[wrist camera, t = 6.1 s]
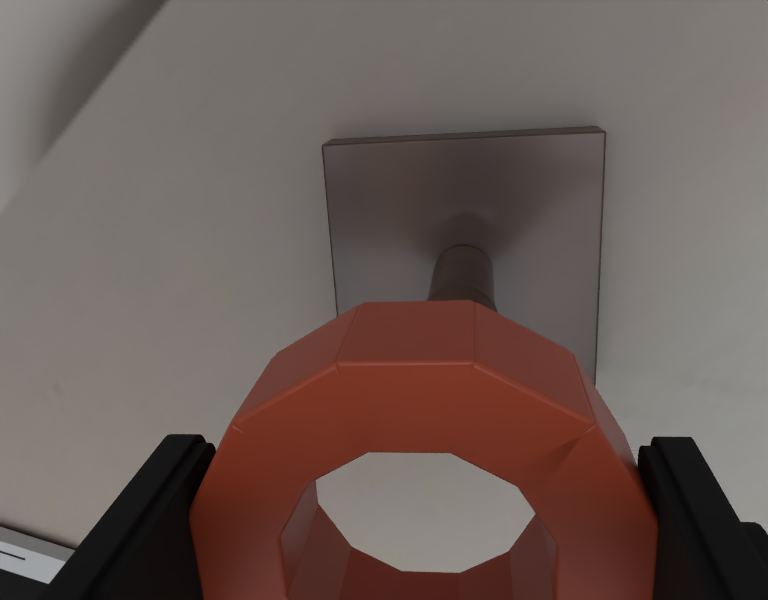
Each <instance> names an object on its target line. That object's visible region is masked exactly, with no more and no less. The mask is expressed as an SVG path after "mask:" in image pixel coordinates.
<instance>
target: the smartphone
mask: <svg viewBox="0 0 768 600" xmlns="http://www.w3.org/2000/svg"><path fill="white" fill-rule="evenodd" d="M74 551H75V550H72V549H69V548H66V547H63V546H60V545H56V544H53V543H50V542H47V541H44V540H41V539H38V538H34V537H31V536H28V535H25V534H22V533H19V532H15V531H12V530H9V529H6V528H3V527H0V600H36V599H37V598H38V597H39V596H40V594H41V593H42V592H43V591H44V589H45V588H46V587H47V586H48V584H49V583H50V582H51V580H52V579H53V578H54V577H55V575H56V574H57V573H58V572H59V570H60V569H61V568H62V567H63V565H64V564H65V563H66V562H67V560H68V559H69V558H70V557H71V555H72V554H73V553H74Z"/></svg>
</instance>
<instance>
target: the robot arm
mask: <svg viewBox="0 0 768 600" xmlns="http://www.w3.org/2000/svg"><path fill="white" fill-rule="evenodd" d="M215 453H216V450H215V447H214V445H213V444H212V443H206V441H205V439H204V437H203V436H202V435H200V434H170V435H167V436H166V437H165V438H164V439H163V441H162V442H161V443H160V444H159V446H158V447H157V448H156V449H155V451H154V452H153V453H152V454H151V456H150V457H149V458H148V459H147V461H146V462H145V463H144V464H143V466H142V467H141V468H140V470H139V471H138V472H137V473H136V475H135V476H134V477H133V478H132V480H131V481H130V482H129V483H128V485H127V486H126V487H125V488H124V490H123V491H122V492H121V493H120V495H119V496H118V497H117V499H116V500H115V501H114V502H113V504H112V505H111V506H110V507H109V509H108V510H107V511H106V512H105V514H104V515H103V516H102V517H101V519H100V520H99V521H98V522H97V524H96V525H95V526H94V528H93V529H92V530H91V531H90V533H89V534H88V535H87V536H86V538H85V539H84V540H83V541H82V543H81V544H80V545H79V546H78V548H77V549H76V550H75V551H74V553H73V554H72V555H71V557H70V558H69V559H68V560H67V562H66V563H65V564H64V565H63V567H62V568H61V569H60V570H59V572H58V573H57V574H56V575H55V577H54V578H53V579H52V580H51V582H50V583H49V584H48V586H47V587H46V588H45V589H44V591H43V592H42V593H41V594H40V596H39V597H38V598H37V599H36V600H203V595H202V589H201V584H200V579H199V573H198V568H197V562H196V557H195V552H194V546H193V541H192V535H191V530H190V525H189V508H190V506H191V504H192V502H193V500H194V497H195V495H196V493H197V491H198V489H199V487H200V485H201V483H202V481H203V478H204V476H205V474H206V472H207V470H208V468H209V466H210V464H211V462H212V460H213V457H214V455H215ZM638 469H639V472H640V474H641V477H642V479H643V482H644V484H645V487H646V489H647V492H648V494H649V497H650V499H651V502H652V504H653V507H654V509H655V512H656V514H657V517H658V519H659V534H658V547H657V559H656V572H655V584H654V597H653V600H768V535H767V533H766V531H765V530H764V529H763V528H762V526H761V525H759V524H757V523H755V522H740V520H739V518H738V517H737V515H736V513H735V511H734V510H733V508H732V506H731V504H730V503H729V501H728V499H727V497H726V496H725V494H724V492H723V490H722V489H721V487H720V485H719V483H718V482H717V480H716V478H715V476H714V475H713V473H712V471H711V470H710V468H709V466H708V464H707V463H706V461H705V459H704V457H703V456H702V454H701V452H700V450H699V449H698V447H697V445H696V443H695V442H694V440H693V439H692V438H691V437H653V439H652V441H651V446H640V448H639V454H638Z"/></svg>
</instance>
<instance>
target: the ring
mask: <svg viewBox="0 0 768 600" xmlns="http://www.w3.org/2000/svg"><path fill="white" fill-rule="evenodd" d="M368 452H401V453H451V454H453V455H455V456H457V457H459V458H461V459H463V460H465V461H467V462H469V463H471V464H473V465H475V466H477V467H479V468H481V469H483V470H485V471H487V472H489V473H491V474H493V475H495V476H497V477H499V478H501V479H503V480H505V481H507V482H509V483H511V484H513V485H515V486H517V487H518V488H519V490H520V491H521V493H522V494H523V496H524V497H525V499H526V500H527V501H528V503H529V504H530V506H531V507H532V509H533V510H534V512H535V513H536V514H535V516H534V517H533V518H532V520H531V521H530V523H529V524H528V525H527V527H526V528H525V529H524V531H523V532H522V534H521V535H520V536H519V538H518V539H517V541H516V542H515V543H514V545H513V546H512V548H511V549H510V550H509V551H508V552H506V553H504V554H502V555H499V556H497V557H495V558H493V559H490V560H488V561H486V562H483V563H481V564H479V565H477V566H474V567H472V568H470V569H468V570H465V571H463V572H461V573H442V572H410V571H400V570H398V569H396V568H394V567H392V566H390V565H388V564H386V563H384V562H382V561H380V560H378V559H376V558H374V557H372V556H370V555H368V554H366V553H363V552H361V551H359V550H357V549H355V548H353V547H351V545H350V544H349V543H348V541H347V540H346V539H345V537H344V536H343V535H342V534H341V532H340V531H339V530H338V528H337V527H336V526H335V524H334V523H333V522H332V521H331V519H330V518H329V517H328V515H327V514H326V513H325V511H324V510H323V509H322V508H321V506H320V505H319V504H318V499H317V490H316V481H315V480H316V479H318V478H320V477H322V476H324V475H326V474H327V473H329V472H331V471H333V470H335V469H337V468H339V467H341V466H343V465H345V464H347V463H349V462H350V461H352V460H354V459H356V458H358V457H360V456H362V455H364V454H366V453H368ZM189 525H190V530H191V535H192V541H193V546H194V552H195V557H196V562H197V568H198V573H199V579H200V584H201V589H202V595H203V600H653V597H654V584H655V572H656V559H657V547H658V534H659V519H658V517H657V514H656V512H655V509H654V507H653V504H652V502H651V499H650V497H649V494H648V492H647V489H646V487H645V484H644V482H643V479H642V477H641V474H640V472H639V469H638V467H637V464H636V462H635V459H634V457H633V454H632V452H631V449H630V447H629V444H628V442H627V439H626V437H625V434H624V433H623V431H622V430H621V428H620V426H619V425H618V423H617V422H616V420H615V418H614V417H613V415H612V414H611V412H610V410H609V409H608V407H607V405H606V404H605V402H604V401H603V399H602V397H601V396H600V394H599V393H598V391H597V389H596V388H595V386H594V385H593V383H592V381H591V380H590V378H589V377H588V375H587V373H586V372H585V370H584V368H583V367H582V365H581V364H580V362H579V360H578V359H577V357H576V356H575V354H573V353H572V352H570V350H569V349H567V348H565V347H563V346H561V345H559V344H557V343H555V342H553V341H551V340H549V339H547V338H545V337H543V336H541V335H539V334H537V333H535V332H534V331H532V330H530V329H528V328H526V327H524V326H522V325H520V324H518V323H516V322H514V321H512V320H510V319H508V318H506V317H504V316H502V315H500V314H498V313H497V312H495V311H493V310H491V309H489V308H487V307H485V306H483V305H481V304H479V303H476V302H473V301H471V300H450V301H402V302H364V303H362V304H361V305H357V306H355V307H353V308H352V309H350V310H348V311H347V312H345V313H343V314H341V315H340V316H338V317H336V318H335V319H333V320H331V321H330V322H328V323H326V324H325V325H323V326H321V327H320V328H318V329H316V330H315V331H313V332H311V333H310V334H308V335H306V336H305V337H303V338H301V339H300V340H298V341H296V342H295V343H293V344H291V345H290V346H288V347H286V348H285V349H283V350H281V351H279V352H278V353H277V354H276V355H275V356H274V357H273V358H272V359H271V361H270V362H269V364H268V365H267V367H266V368H265V370H264V371H263V373H262V374H261V376H260V378H259V379H258V381H257V382H256V384H255V385H254V387H253V388H252V390H251V391H250V393H249V394H248V396H247V398H246V399H245V401H244V402H243V404H242V405H241V407H240V408H239V410H238V411H237V413H236V414H235V416H234V418H233V419H232V421H231V422H230V424H229V426H228V428H227V430H226V432H225V434H224V436H223V438H222V441H221V443H220V445H219V447H218V449H217V451H216V453H215V455H214V457H213V460H212V462H211V464H210V466H209V468H208V470H207V472H206V474H205V476H204V478H203V481H202V483H201V485H200V487H199V489H198V491H197V493H196V495H195V497H194V500H193V502H192V504H191V506H190V508H189Z"/></svg>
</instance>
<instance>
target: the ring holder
mask: <svg viewBox="0 0 768 600" xmlns="http://www.w3.org/2000/svg"><path fill="white" fill-rule="evenodd" d="M605 147H606V132H605V131H604V130H602V129H601V128H599V127H597V126H592V127H572V128H552V129H532V130H512V131H491V132H471V133H451V134H431V135H411V136H391V137H370V138H350V139H332V140H330V141H328V142H327V143H325V144H323V145H322V155H323V166H324V177H325V188H326V199H327V210H328V221H329V232H330V243H331V254H332V265H333V276H334V287H335V298H336V309H337V317H338V316H340V315H341V314H343V313H345V312H347V311H348V310H350V309H352V308H353V307H355V306H357V305H361V304H362V303H364V302H402V301H450V300H471V301H473V302H476V303H479V304H481V305H483V306H485V307H487V308H489V309H491V310H493V311H495V312H497V313H498V314H500V315H502V316H504V317H506V318H508V319H510V320H512V321H514V322H516V323H518V324H520V325H522V326H524V327H526V328H528V329H530V330H532V331H534V332H535V333H537V334H539V335H541V336H543V337H545V338H547V339H549V340H551V341H553V342H555V343H557V344H559V345H561V346H563V347H565V348H567V349H569V350H570V352H572V353H573V354H575V356H576V357H577V359H578V360H579V362H580V364H581V365H582V367H583V368H584V370H585V372H586V373H587V375H588V377H589V378H590V380H591V381H592V383H593V385H594V386H595V385H596V361H597V337H598V314H599V290H600V266H601V242H602V218H603V195H604V171H605Z"/></svg>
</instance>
